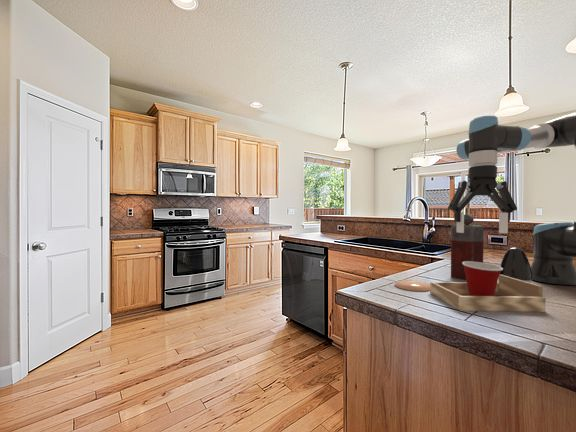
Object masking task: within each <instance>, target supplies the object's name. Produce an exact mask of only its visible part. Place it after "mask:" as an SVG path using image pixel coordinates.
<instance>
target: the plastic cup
mask: <svg viewBox="0 0 576 432" xmlns="http://www.w3.org/2000/svg"><path fill="white" fill-rule="evenodd" d="M462 264H463V265H464V269H465V274H466V280H465V281H466V282H467V287H468V290H469V294H468V296H495V295H494V293H495V290H496V285H497V283H498V278H499V274H500V272H501V271H502V270H503V268H502V267H500V265H496V264H493V263H492V264H491V263H485V262H483V263H482V262H471V261H466V262H462Z"/></svg>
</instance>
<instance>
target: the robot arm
mask: <svg viewBox="0 0 576 432" xmlns="http://www.w3.org/2000/svg"><path fill="white" fill-rule="evenodd" d="M467 134H468V138H466V139H464V140H461V141H460V142H458V144H457V146H456V154H457V156H458V158H460V159H461V160H464V161H465V160H468V167H469V168H468V174H467V175H468V181H466V180H462V181H459V182H458V184H457V185H458V186H457V189H456V191H455V193H454V195H453V197H452V199H451V201H450V202H449V205H448V207H447V209H448V210H449V211H452V213H454V214H453V220H454V222H455V223H456V225H457V229H456V232H458V233H464V225H465V224H464V215H465V212H464V211H463V210H464V209H465V208H466V206H467V205H468V204H469V203H470V202H471V201H472V200H473V199H474V198H475V197H476V196H478V197H479V196H482V197H483V196H487V197H488V198H490V199H491V200H492V202H493V203H494V204H495V205H496V207H497V208H498V209H499V210H500V211H501V212H498V213H499V214H498V233H499V234H508V233H509V231H508V230H509V224H508V223H511V213H513V212H514V211H518V207H517V206H516V205H517V204H516V203H515V201H514V198H513V196H512V195H511V192H510V190H509V189H508V183H507V181H506V180H505V181H497V177H498V166H496V165H497V164H498V154H502V153H508V152H514V151H515V152H516V151H522V150H527V149H530V148H531V149H532V148H534V149H546V148H556V147H567V146H574V148H575V149H576V112H573V113H569V114H565V115H563V116H561V117H557V118H555V119H552V120H549V121H546V122H542V123H538V124H535V125H533V126H532V127H529V128H526V127H523V126H519V125H518V126H517V125H515V126H513V125H502V124H499V119H498V116H496V115H492V114H488V115H480V116H477V117H475V118H472V119H471V120H470V121H469V127H468V133H467ZM467 188H469V190H468V191H467V192H466V190H467ZM465 192H466V193H465ZM464 193H465V195H464ZM463 195H464V197H463ZM462 211H463V212H462ZM532 236H533V237H532V239H533V241H532V242H533V243H532V244H533V246H532V247H533V259H532V262H531V264H530V267H531V271H532V280H531V281H536V282H541V283H546V284H547V283H548V284H554V285H563V286H564V285H565V286H568V285H569V286H575V285H576V267H575V264H574V258H576V219H575V220H573V222H569V221H567V222H566V221H565V222H550V223H549V222H547V223H540V224H539V223H538V224H537V225H535V226H534V227H533V234H532Z"/></svg>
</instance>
